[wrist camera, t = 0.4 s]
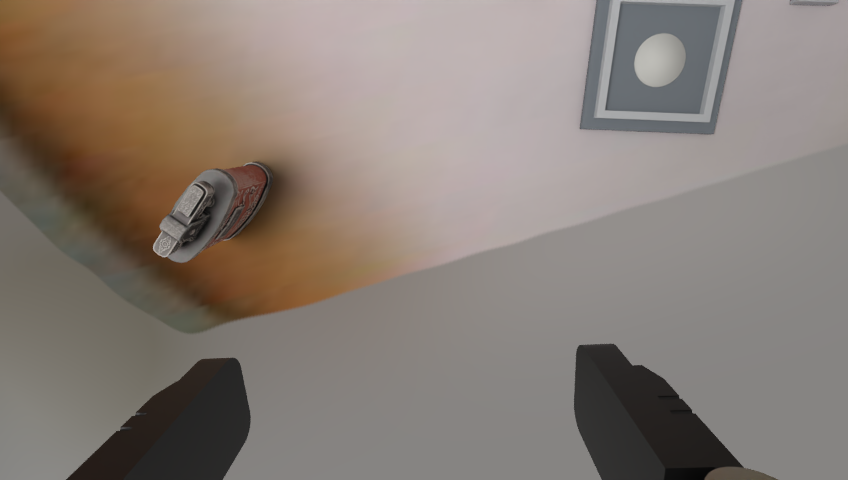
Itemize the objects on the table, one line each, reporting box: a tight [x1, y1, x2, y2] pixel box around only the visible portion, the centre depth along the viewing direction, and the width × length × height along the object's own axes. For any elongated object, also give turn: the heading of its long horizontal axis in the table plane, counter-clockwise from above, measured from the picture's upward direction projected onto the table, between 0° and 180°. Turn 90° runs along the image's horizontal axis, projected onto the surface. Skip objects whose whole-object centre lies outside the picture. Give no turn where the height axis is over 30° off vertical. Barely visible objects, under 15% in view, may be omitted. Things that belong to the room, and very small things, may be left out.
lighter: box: [153, 162, 273, 263], centre depth 33 cm, size 8×3×10 cm, turn 142°
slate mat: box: [580, 0, 742, 134], centre depth 33 cm, size 11×11×1 cm
